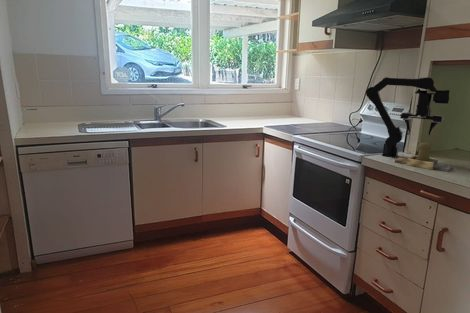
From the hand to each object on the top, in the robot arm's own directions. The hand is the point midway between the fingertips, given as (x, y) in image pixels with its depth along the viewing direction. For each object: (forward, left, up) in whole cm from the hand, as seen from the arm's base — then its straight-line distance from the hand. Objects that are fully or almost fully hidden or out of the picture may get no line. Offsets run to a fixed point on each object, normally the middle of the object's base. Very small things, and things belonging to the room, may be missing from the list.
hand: (419, 134), depth 174 cm
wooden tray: (+6, -12, -13) cm, 19 cm away
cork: (+6, -12, -13) cm, 19 cm away
